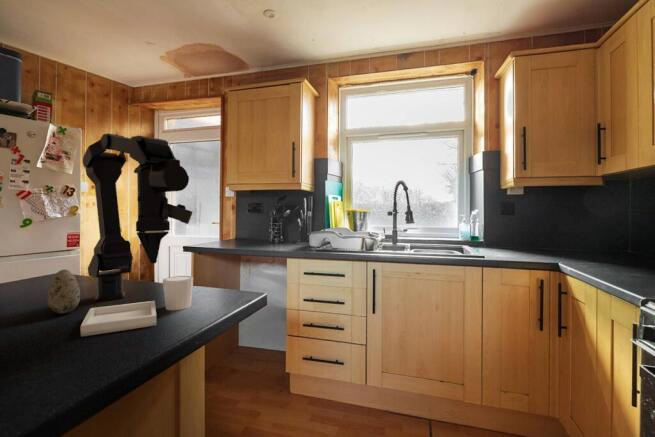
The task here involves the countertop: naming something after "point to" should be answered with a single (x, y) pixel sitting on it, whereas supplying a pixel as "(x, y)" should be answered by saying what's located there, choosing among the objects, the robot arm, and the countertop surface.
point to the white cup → (178, 292)
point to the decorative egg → (63, 292)
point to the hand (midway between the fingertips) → (153, 260)
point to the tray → (119, 318)
